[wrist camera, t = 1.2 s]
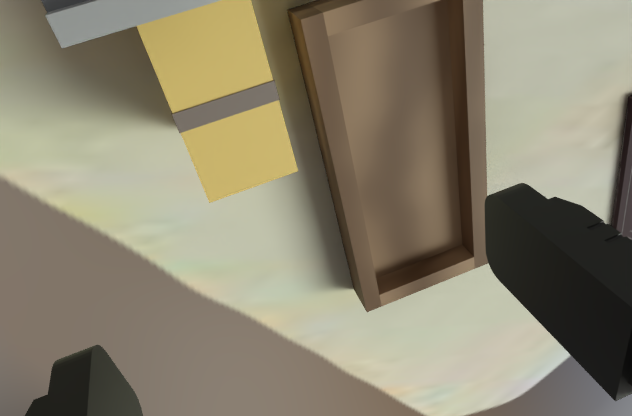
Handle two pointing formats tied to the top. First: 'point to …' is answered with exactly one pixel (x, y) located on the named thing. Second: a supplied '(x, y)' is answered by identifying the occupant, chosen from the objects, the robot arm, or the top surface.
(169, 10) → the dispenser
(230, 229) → the top surface
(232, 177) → the grey-banded yellow bar
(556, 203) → the robot arm
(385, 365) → the top surface
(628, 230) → the chocolate bar
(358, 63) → the tray
